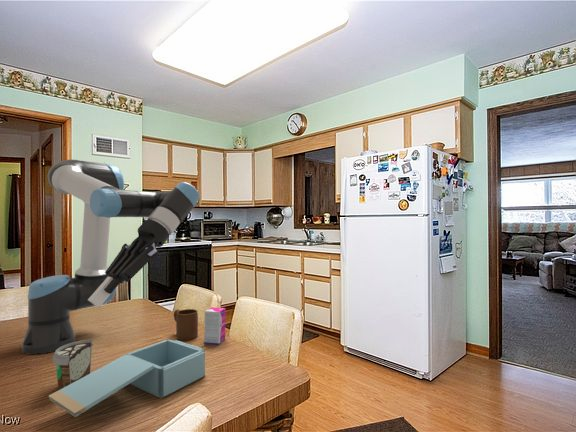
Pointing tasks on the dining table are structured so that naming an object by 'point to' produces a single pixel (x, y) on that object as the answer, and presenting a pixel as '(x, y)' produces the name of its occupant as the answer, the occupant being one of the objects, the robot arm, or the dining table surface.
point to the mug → (186, 324)
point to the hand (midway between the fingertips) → (93, 303)
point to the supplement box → (214, 326)
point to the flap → (99, 384)
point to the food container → (72, 362)
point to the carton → (169, 366)
